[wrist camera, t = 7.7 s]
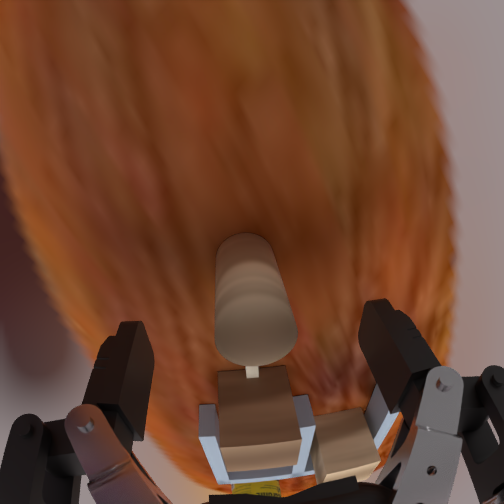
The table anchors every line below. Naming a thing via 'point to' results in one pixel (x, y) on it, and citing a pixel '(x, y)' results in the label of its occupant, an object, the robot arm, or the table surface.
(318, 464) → the oak block
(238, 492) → the supplement bottle
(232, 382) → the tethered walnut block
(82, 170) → the table surface
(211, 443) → the lane shelf
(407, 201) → the table surface
